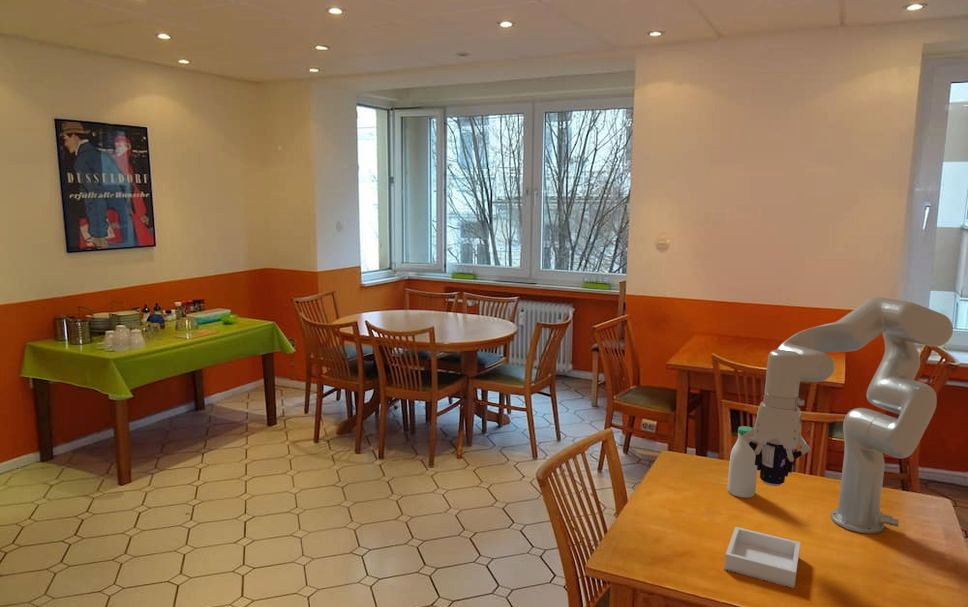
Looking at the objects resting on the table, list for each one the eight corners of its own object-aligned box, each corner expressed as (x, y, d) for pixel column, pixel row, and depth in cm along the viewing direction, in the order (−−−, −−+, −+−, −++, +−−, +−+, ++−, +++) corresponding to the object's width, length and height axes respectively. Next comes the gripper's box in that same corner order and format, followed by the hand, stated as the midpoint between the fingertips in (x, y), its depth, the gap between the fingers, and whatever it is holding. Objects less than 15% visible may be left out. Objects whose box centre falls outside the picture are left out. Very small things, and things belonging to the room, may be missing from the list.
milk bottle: (759, 499, 193) (765, 433, 190) (732, 498, 193) (738, 432, 190) (749, 487, 200) (754, 424, 197) (723, 486, 201) (728, 423, 197)
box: (798, 557, 162) (800, 542, 161) (794, 588, 149) (795, 572, 148) (734, 541, 169) (735, 526, 168) (724, 569, 156) (725, 554, 155)
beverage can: (781, 489, 161) (787, 442, 159) (757, 483, 164) (761, 437, 162) (785, 481, 165) (791, 435, 164) (761, 475, 168) (766, 430, 167)
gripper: (820, 403, 160) (812, 474, 163) (745, 391, 169) (738, 458, 172) (818, 411, 154) (809, 485, 157) (740, 398, 162) (733, 468, 165)
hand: (772, 470), depth 164 cm, fingers closed on beverage can, 5 cm apart
